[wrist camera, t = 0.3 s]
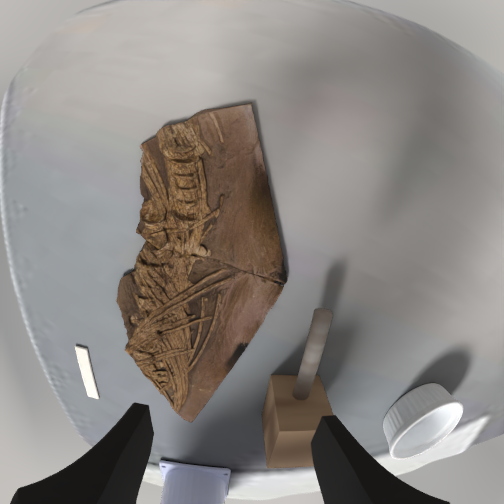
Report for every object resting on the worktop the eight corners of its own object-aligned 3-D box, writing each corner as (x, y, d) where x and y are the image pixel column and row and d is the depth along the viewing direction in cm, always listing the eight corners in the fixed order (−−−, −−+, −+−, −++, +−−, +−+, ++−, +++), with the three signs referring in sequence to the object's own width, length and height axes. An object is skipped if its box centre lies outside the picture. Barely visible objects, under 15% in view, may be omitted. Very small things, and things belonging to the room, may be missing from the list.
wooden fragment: (159, 87, 15) (154, 83, 14) (328, 127, 16) (333, 124, 15) (119, 398, 22) (116, 406, 21) (233, 425, 23) (233, 434, 22)
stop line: (99, 397, 21) (98, 399, 21) (88, 394, 21) (88, 396, 21) (87, 348, 20) (86, 349, 20) (75, 345, 20) (74, 346, 20)
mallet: (305, 414, 23) (318, 465, 17) (261, 414, 22) (267, 468, 17) (340, 298, 19) (375, 344, 14) (286, 294, 19) (304, 343, 13)
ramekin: (365, 438, 25) (377, 466, 21) (398, 381, 22) (417, 411, 18) (423, 427, 25) (437, 449, 21) (456, 373, 23) (476, 395, 19)
